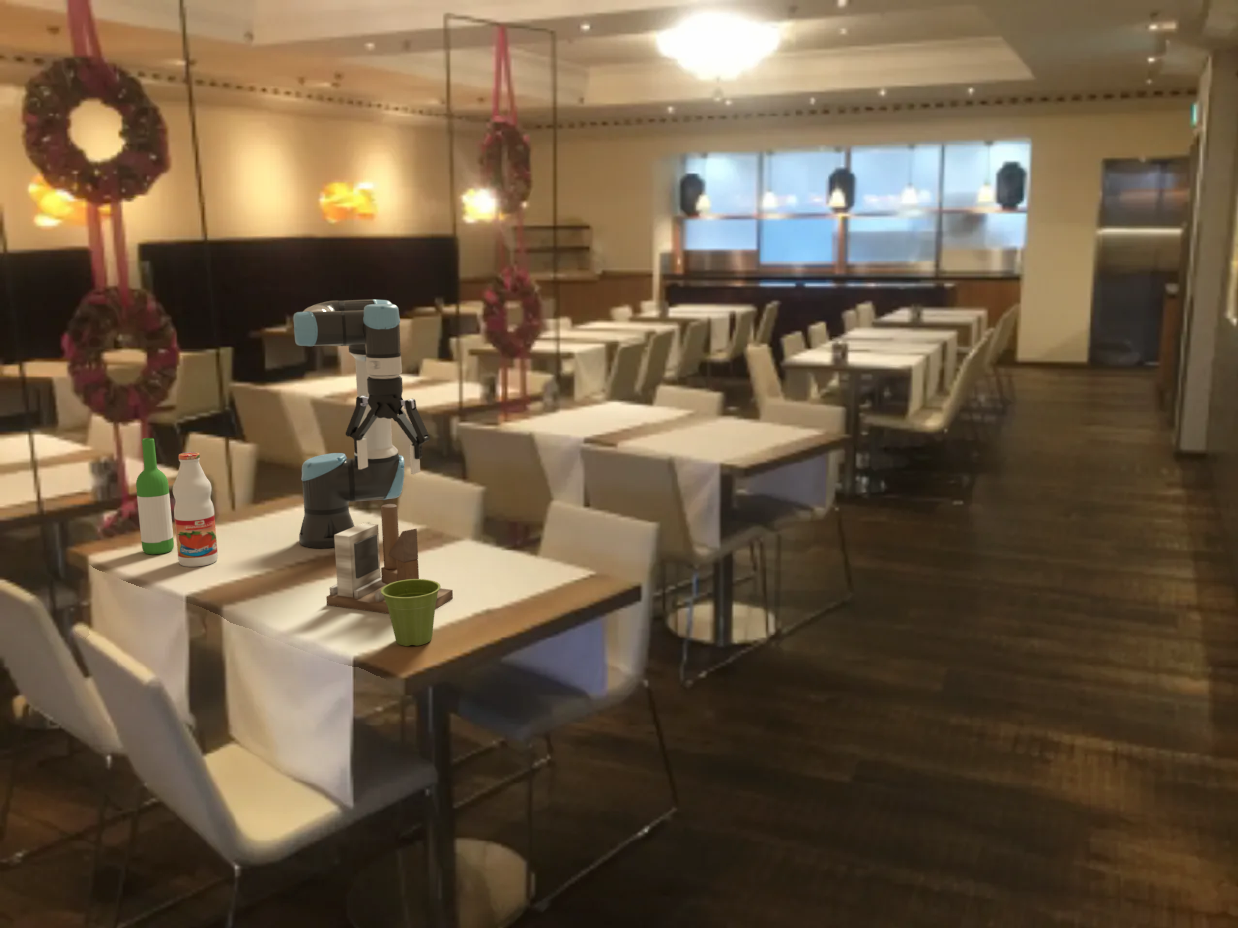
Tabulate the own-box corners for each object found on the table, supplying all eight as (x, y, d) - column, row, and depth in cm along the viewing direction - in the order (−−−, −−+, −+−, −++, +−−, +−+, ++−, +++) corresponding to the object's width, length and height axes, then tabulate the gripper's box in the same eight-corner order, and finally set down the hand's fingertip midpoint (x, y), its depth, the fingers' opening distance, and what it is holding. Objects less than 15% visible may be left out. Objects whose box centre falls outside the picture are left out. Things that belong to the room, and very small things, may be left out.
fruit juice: (214, 554, 282) (205, 448, 276) (221, 563, 274) (212, 455, 268) (176, 560, 277) (166, 452, 272) (181, 569, 269) (171, 458, 264)
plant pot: (400, 628, 228) (398, 576, 225) (452, 633, 224) (450, 581, 222) (372, 648, 217) (369, 594, 214) (426, 654, 213) (424, 599, 211)
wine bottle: (180, 550, 286) (169, 438, 280) (151, 557, 280) (140, 442, 274) (165, 545, 291) (155, 435, 285) (136, 551, 285) (125, 439, 279)
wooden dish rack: (363, 586, 255) (359, 520, 252) (452, 598, 246) (450, 530, 243) (326, 604, 242) (322, 535, 239) (419, 618, 234) (416, 546, 230)
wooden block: (405, 593, 238) (401, 514, 234) (381, 582, 246) (377, 505, 242) (420, 590, 240) (416, 511, 236) (395, 579, 248) (391, 502, 244)
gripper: (326, 375, 238) (331, 469, 243) (425, 381, 229) (429, 479, 234) (346, 370, 245) (351, 462, 250) (443, 376, 236) (446, 471, 241)
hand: (389, 470), depth 242 cm, fingers open, 13 cm apart
